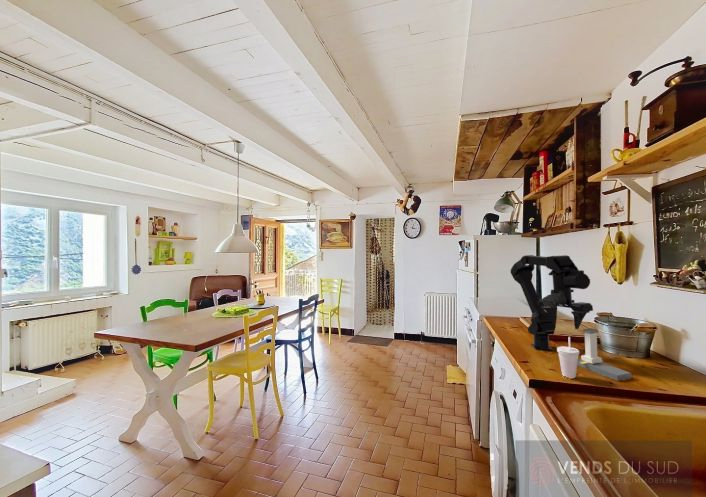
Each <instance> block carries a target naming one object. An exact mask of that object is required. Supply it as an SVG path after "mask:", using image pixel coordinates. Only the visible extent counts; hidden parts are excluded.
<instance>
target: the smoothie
mask: <svg viewBox="0 0 706 497" xmlns="http://www.w3.org/2000/svg"><path fill="white" fill-rule="evenodd" d="M567 340H568V346H562V345H561V346H557V347H556V352H557V354H558V359H559V364H560V370H561V375H563V376H566V377H569V378H575V377H577V369H578V365H577V362H578V360H579V355H580V350H579V349H577V348H575V347H571V336H568V339H567ZM563 376H562V377H563Z"/></svg>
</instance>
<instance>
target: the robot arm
mask: <svg viewBox="0 0 706 497" xmlns="http://www.w3.org/2000/svg"><path fill="white" fill-rule="evenodd" d="M535 266H541V267H546V268H547V269H548V270H551V271H550V272H549V273H548V276H552V284H553V285H552V286H553V289H550V293H549V294H548V295H546V296H545V297H543V298H540V297H539V295H538V292H537V291H536V289H535V286H534V284H533V281H532V279H533V271H534V270H535ZM510 274H511V277H512V278H513V280H514V281H515V282H516V283H518V284H519V285H520V287H521V290H522V292H523V295H524V296H525V299H526V302H527V305H528V306H529V309H530V311H531V317H530V321H531V323H530V325H529V326H528V327H527V331H528V334H530V335H533V343H531V344H530V346H532V347H533V349H534V350H539V351H553V348H552V347H551V346H550V335H551V336H552V335H554V334H555V330H556V327H557V326H556V324H557V320H558V319H557V318H558V307H561V308H568V309H571V310H572V311H570V313H571V314H572V316H573V322H574V325H573V326H574V329H575V330H579V328H580V326H581V325H582V322H583V319H584V318H585V317H586V315H587V314H589V313H590V312H593V311H594V308H593V307H594V306H593V304H592V303H590V302H583V301H582V302H581V301H580V302H575V299H573V298H572V293H574V292H575V291H574V289H578V290H586V289H588V288H589V286H590V285H591V279H590V277H589V276H588V275H587V274H586V273H585V270H583V269H582V270H581V269H580V270H579V268H578V267H577V266H576V264H575V263H574V261H573V259H572V258H571V257H570V256H569V255H567V254H565V255H552V256H550V255H549V256H541V255H533V254H527V255H523V256H522V257H521V258H520V259H519V260H518V261H516V262H515V263H514V264H513V265H512V267H511V269H510Z"/></svg>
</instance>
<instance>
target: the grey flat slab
mask: <svg viewBox="0 0 706 497" xmlns="http://www.w3.org/2000/svg"><path fill="white" fill-rule="evenodd" d="M580 366H581V367H580ZM577 367H580V368H583V367H584V368H583V369H585V368H586V370H587V371H590V370H591V371H590V372H594V373H595V372H596V374H598V375H600V374H601V375H600V376H603V377H605V376H607V377H610V378H612V379H615V380H623V379H628V380H631V379H632V373H631V372H629V371H628V370H627V371H626V370H624V369H621V368H618V367H616V366H613V365H612V364H611V365H610V364H608V363H606V362H604V360H603V359H602V362H600V363H594V364H591V363H589V362H586V361H583V360H582V358H581V359H578V362H577ZM607 377H606V378H607ZM610 378H609V379H610ZM630 378H631V379H630ZM612 379H611V380H612ZM615 380H614V381H615ZM623 381H624V380H623Z"/></svg>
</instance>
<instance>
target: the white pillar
mask: <svg viewBox="0 0 706 497" xmlns="http://www.w3.org/2000/svg"><path fill="white" fill-rule="evenodd" d="M582 333H584V349H585V350H584V351H585V353H584V354H583V355H582V354H581V356H580V357H581V359H582V360H583V361H586V362H589V363H591V364H594V363H600V362H602V363H603V361H602V360H603V358H602V357H600V356H598V338H597V336H598V333H599V329H597V328H592V327H588V328H584V329H582Z"/></svg>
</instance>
